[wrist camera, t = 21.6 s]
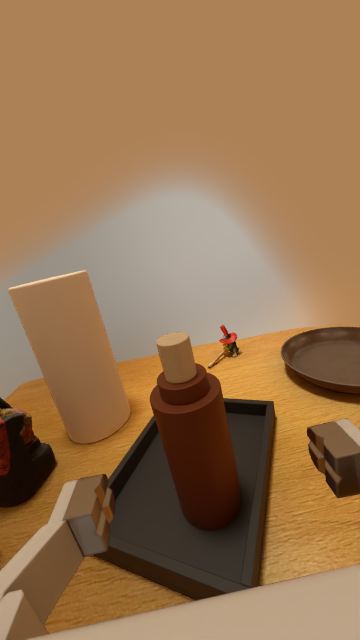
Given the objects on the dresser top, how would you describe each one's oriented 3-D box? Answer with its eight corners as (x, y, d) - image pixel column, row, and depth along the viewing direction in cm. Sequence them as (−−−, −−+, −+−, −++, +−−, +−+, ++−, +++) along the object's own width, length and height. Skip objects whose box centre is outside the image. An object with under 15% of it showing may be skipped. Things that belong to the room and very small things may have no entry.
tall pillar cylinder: (110, 395, 52) (69, 273, 45) (142, 411, 44) (99, 267, 37) (58, 428, 45) (-1, 289, 38) (86, 454, 37) (19, 287, 30)
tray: (254, 625, 18) (249, 602, 17) (80, 549, 25) (71, 531, 24) (275, 416, 36) (273, 401, 36) (171, 407, 43) (168, 394, 43)
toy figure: (234, 379, 56) (213, 369, 52) (222, 375, 59) (201, 365, 55) (249, 337, 58) (229, 324, 54) (237, 335, 61) (217, 323, 57)
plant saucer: (458, 362, 39) (461, 342, 38) (383, 427, 31) (384, 404, 30) (327, 333, 57) (326, 319, 56) (258, 370, 49) (256, 354, 48)
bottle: (252, 519, 24) (219, 342, 19) (185, 539, 23) (132, 364, 18) (230, 463, 30) (201, 319, 25) (177, 479, 29) (136, 335, 24)
